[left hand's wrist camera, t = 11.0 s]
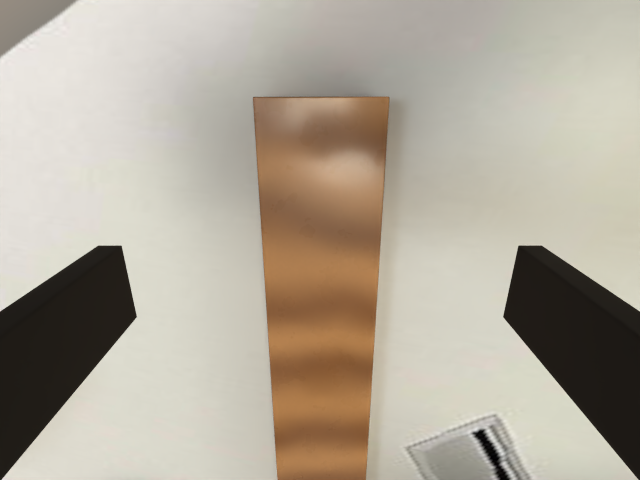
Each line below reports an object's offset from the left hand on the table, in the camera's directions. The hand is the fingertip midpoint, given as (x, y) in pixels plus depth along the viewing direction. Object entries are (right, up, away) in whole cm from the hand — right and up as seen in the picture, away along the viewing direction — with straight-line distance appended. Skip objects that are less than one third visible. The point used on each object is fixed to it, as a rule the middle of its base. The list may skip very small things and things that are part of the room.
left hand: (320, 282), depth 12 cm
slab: (0, -15, +29) cm, 33 cm away
